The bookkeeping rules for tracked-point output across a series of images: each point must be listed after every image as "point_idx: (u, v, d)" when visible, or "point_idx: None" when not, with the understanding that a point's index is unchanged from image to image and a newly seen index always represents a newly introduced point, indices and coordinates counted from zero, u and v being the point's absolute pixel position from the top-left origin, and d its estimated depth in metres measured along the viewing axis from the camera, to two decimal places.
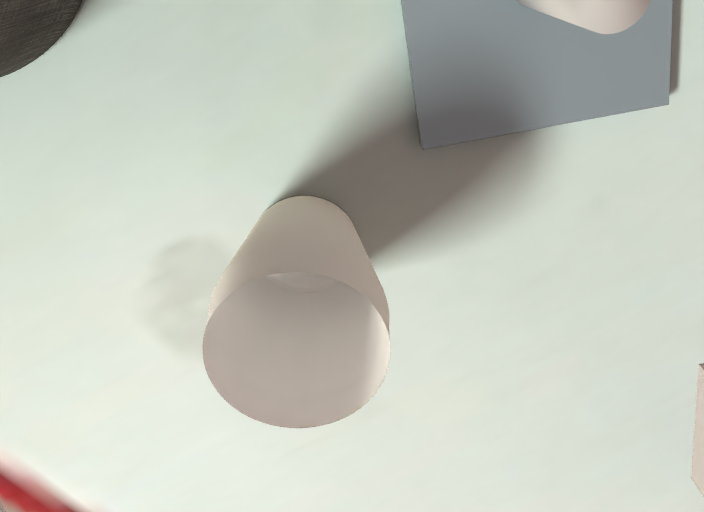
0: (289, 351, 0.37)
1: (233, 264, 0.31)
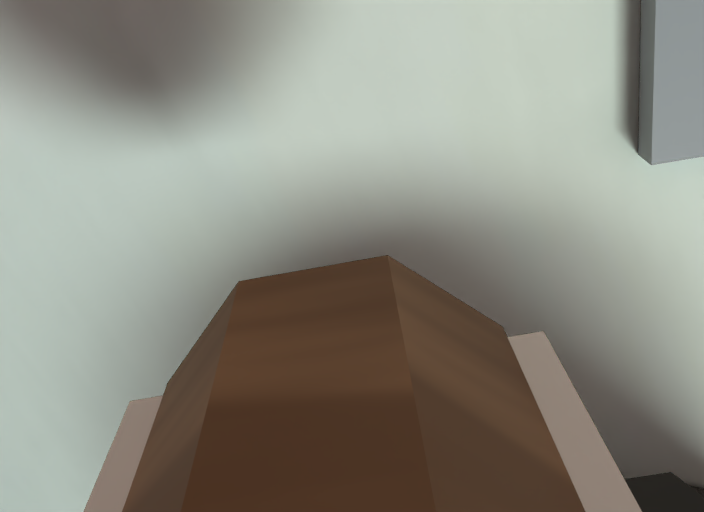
0: None
1: None
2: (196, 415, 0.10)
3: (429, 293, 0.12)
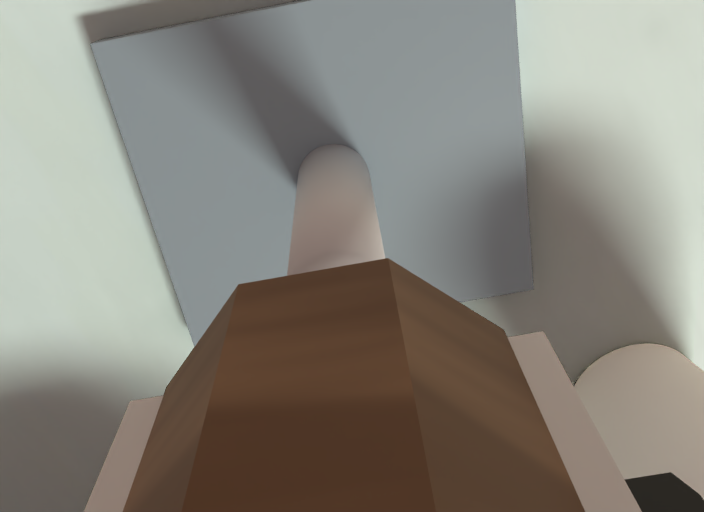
0: None
1: None
2: (195, 420, 0.10)
3: (429, 295, 0.12)
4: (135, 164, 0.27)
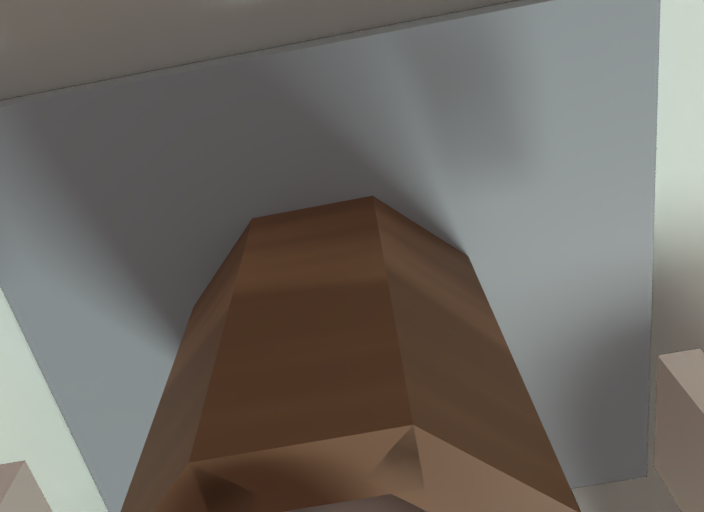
0: None
1: None
2: (223, 306, 0.13)
3: (406, 224, 0.15)
4: (18, 308, 0.16)
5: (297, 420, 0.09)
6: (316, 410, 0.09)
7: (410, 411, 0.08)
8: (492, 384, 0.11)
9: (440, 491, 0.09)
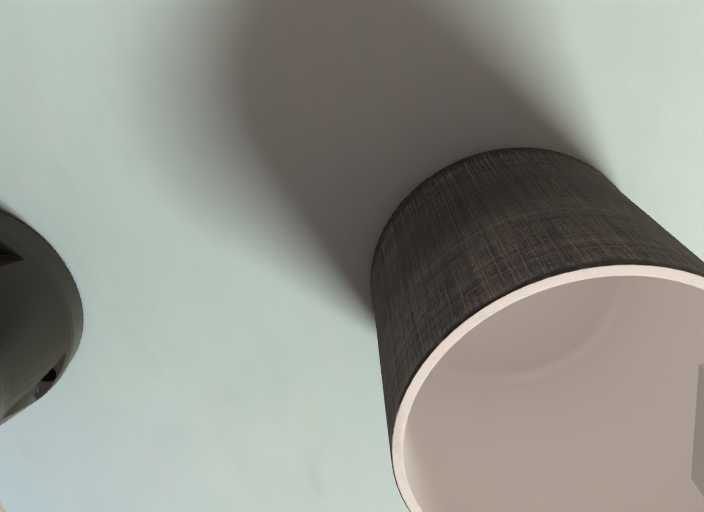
0: None
1: None
2: None
3: None
4: None
5: None
6: None
7: None
8: None
9: None
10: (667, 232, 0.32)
